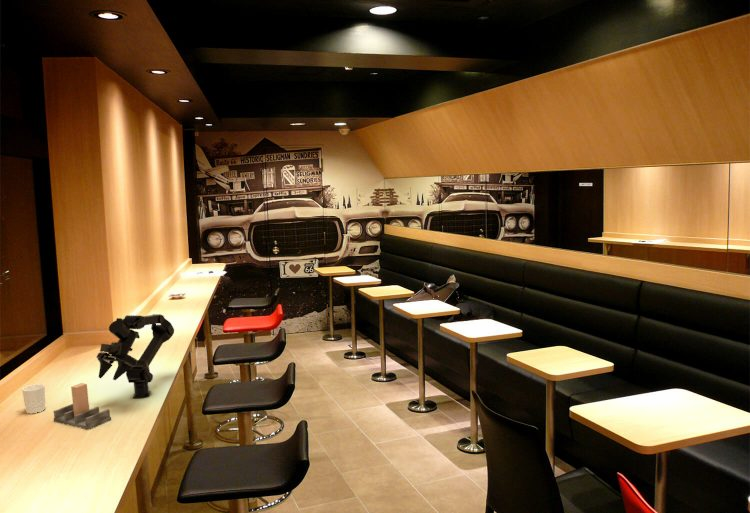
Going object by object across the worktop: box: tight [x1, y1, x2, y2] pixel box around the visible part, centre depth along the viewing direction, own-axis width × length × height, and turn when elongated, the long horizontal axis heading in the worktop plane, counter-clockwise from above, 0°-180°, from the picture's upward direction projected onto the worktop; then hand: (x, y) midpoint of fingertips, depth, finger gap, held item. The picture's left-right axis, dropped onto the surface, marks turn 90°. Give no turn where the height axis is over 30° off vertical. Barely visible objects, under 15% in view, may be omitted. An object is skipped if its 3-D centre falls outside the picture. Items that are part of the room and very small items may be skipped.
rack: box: [53, 403, 112, 430], centre depth 235 cm, size 10×20×4 cm, turn 63°
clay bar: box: [70, 382, 90, 419], centre depth 234 cm, size 4×3×13 cm, turn 152°
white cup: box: [21, 383, 46, 415], centre depth 246 cm, size 8×8×10 cm
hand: (106, 378), depth 242 cm, fingers open, 9 cm apart
